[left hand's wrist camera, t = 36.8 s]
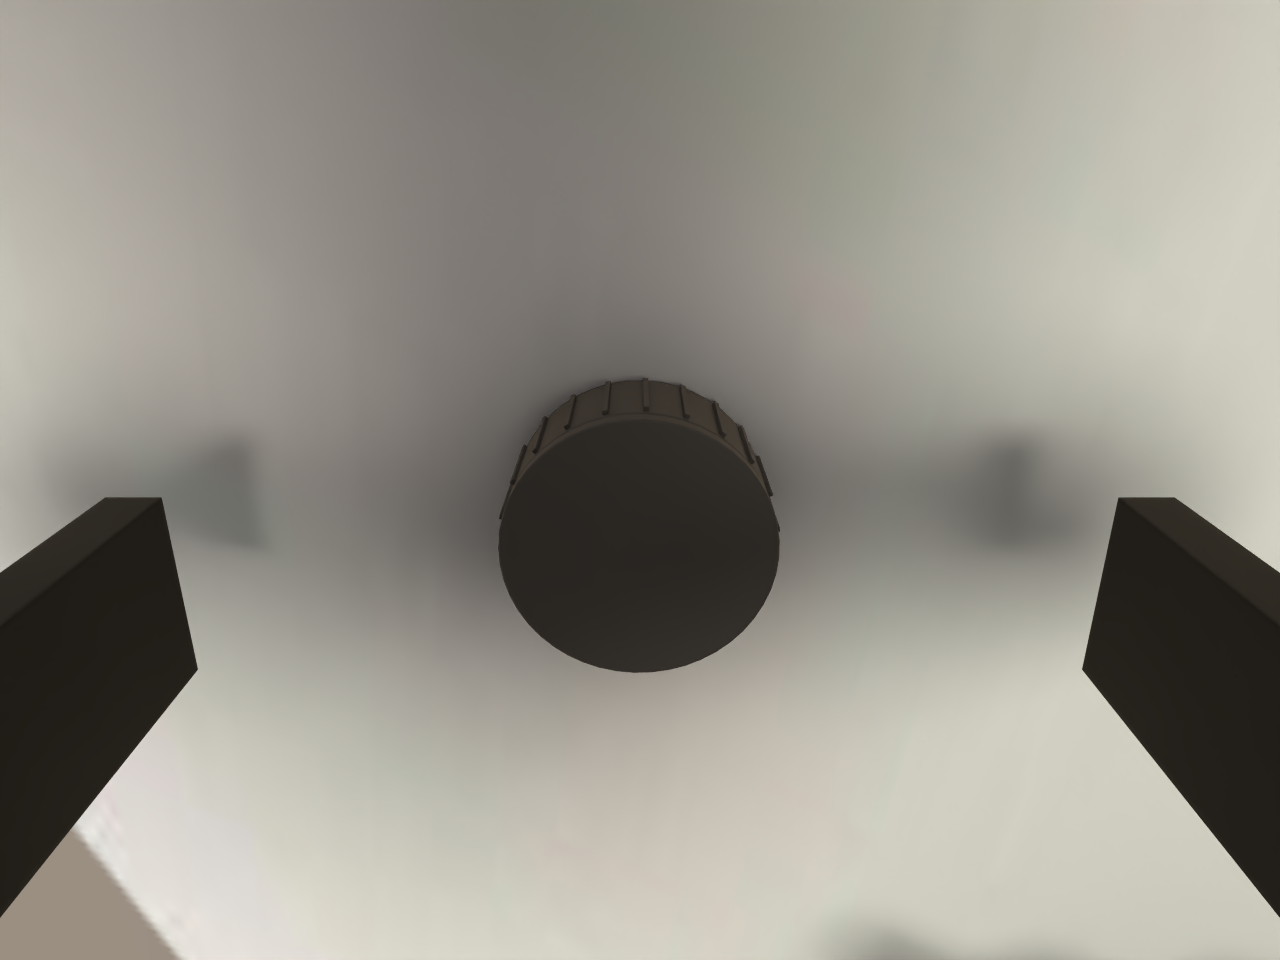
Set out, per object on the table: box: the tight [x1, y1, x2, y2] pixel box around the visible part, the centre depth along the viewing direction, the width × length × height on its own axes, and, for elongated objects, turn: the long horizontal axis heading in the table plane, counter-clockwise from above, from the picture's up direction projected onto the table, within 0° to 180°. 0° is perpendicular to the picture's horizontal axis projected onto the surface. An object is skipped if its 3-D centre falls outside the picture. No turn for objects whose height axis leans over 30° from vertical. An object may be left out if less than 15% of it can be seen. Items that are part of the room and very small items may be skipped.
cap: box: [498, 378, 780, 673], centre depth 15 cm, size 4×4×2 cm
